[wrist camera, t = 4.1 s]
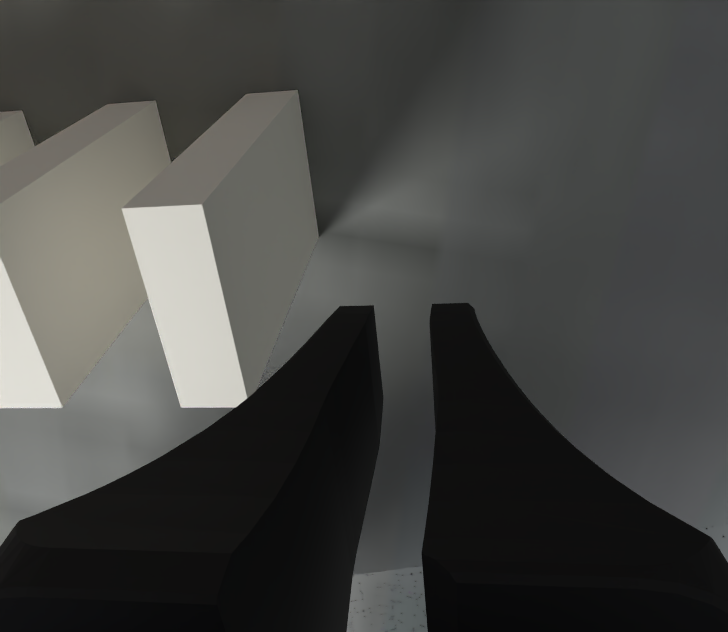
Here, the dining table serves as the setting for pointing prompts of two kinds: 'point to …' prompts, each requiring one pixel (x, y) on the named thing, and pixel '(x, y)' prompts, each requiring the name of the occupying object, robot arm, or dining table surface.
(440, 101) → the dining table surface
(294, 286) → the domino
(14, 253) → the domino
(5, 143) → the domino
